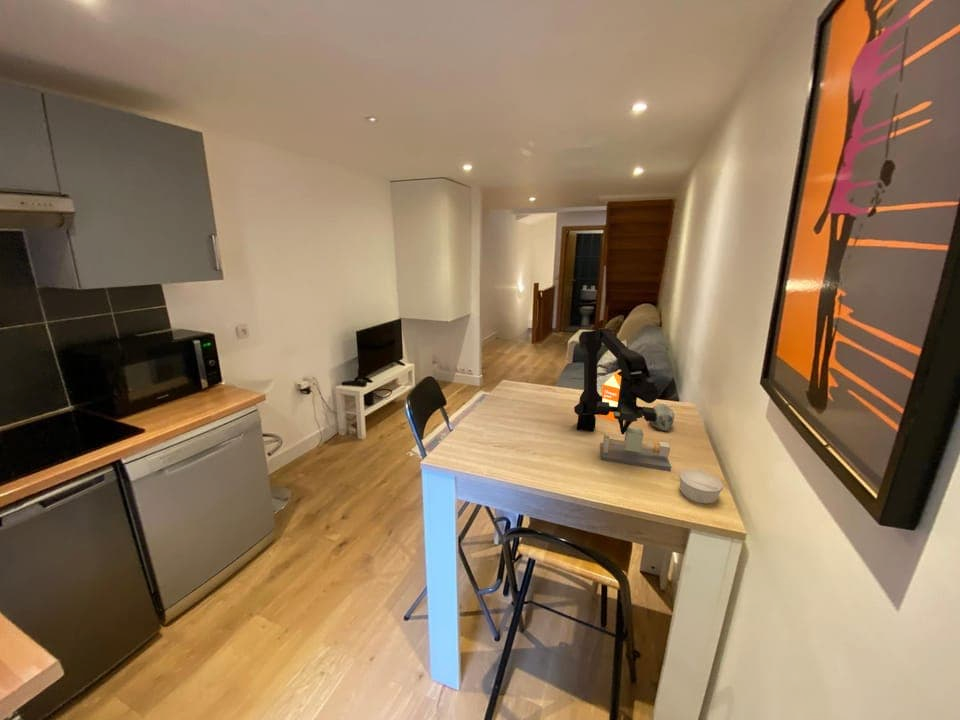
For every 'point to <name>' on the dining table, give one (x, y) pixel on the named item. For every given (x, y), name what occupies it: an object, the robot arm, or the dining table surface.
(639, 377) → the robot arm
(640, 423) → the dining table surface
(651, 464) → the cord board
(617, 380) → the orange juice
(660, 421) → the grey rounded oval lump
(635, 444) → the matte sage green cube
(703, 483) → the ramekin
